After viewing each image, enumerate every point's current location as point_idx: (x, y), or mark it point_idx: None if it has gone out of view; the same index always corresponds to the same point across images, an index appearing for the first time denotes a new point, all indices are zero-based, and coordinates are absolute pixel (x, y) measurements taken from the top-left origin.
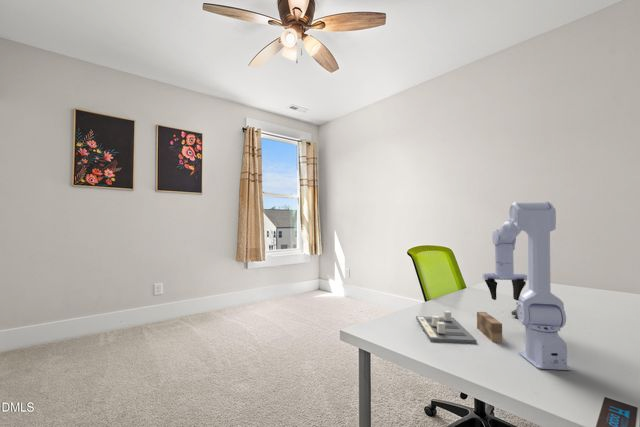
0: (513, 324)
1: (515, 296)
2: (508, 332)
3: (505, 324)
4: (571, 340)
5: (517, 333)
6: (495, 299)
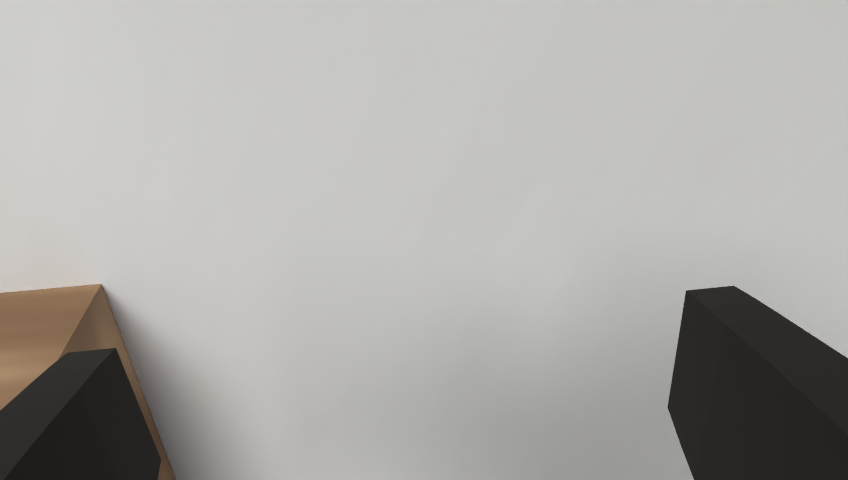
0: (532, 37)
1: (719, 433)
2: (334, 343)
3: (410, 62)
4: None
5: (421, 350)
6: (139, 477)
